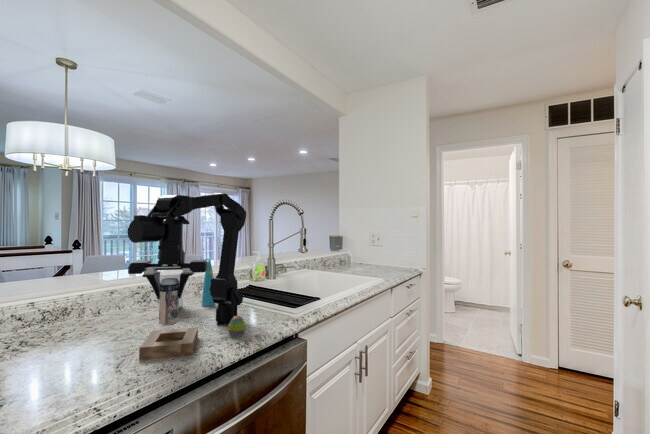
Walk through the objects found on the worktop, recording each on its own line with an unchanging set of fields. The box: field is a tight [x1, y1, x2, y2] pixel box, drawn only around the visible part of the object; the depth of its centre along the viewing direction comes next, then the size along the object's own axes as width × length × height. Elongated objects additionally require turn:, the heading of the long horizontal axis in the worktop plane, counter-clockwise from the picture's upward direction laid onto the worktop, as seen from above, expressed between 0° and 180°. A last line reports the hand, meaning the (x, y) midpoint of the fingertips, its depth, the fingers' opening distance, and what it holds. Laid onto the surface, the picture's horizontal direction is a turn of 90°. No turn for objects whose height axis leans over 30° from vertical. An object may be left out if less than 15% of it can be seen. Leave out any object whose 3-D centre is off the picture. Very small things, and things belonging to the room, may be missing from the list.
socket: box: [138, 327, 199, 361], centre depth 82 cm, size 12×12×3 cm
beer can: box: [158, 278, 179, 327], centre depth 83 cm, size 5×5×12 cm
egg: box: [227, 314, 246, 339], centre depth 92 cm, size 5×5×6 cm
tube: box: [201, 256, 215, 307], centre depth 125 cm, size 7×5×19 cm, turn 26°
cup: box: [160, 270, 184, 310], centre depth 119 cm, size 11×11×14 cm
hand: (169, 298), depth 83 cm, fingers closed on beer can, 5 cm apart
